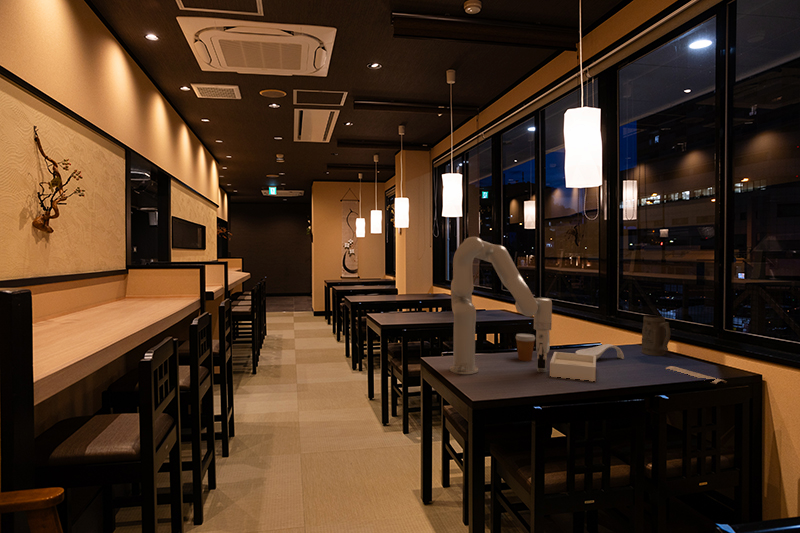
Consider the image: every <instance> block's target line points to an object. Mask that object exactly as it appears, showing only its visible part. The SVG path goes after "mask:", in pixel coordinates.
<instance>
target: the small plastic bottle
mask: <svg viewBox="0 0 800 533" xmlns="http://www.w3.org/2000/svg"><path fill="white" fill-rule="evenodd" d="M542 352H544V351H542ZM536 353H537V354H536V355H537V358H536V360H537V361H536V362H537V363H536V364H538V352H537V351H536ZM547 356H548V353H546V352H545V368H544V369H543V368H538V367H537V366H536V371H538V373H540V372H546V373H547V364H548V363H547V362H548V359H547V358H548V357H547Z"/></svg>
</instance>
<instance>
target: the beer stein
mask: <svg viewBox="0 0 800 533" xmlns="http://www.w3.org/2000/svg"><path fill="white" fill-rule="evenodd" d="M642 319H643V326H642V330H641V353H642V354H644V355H648V356H653V357H654V356H655V357H662V356H665V355H666V352H668V351H669V347H668V344H669V343H670V339H671V333H672V332H671V327H670V322H668V321H666V317H665V316H661V315H657V314H645V315H643V318H642Z"/></svg>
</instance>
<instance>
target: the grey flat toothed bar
mask: <svg viewBox="0 0 800 533" xmlns="http://www.w3.org/2000/svg"><path fill="white" fill-rule="evenodd" d="M667 369H670V370H669V371H671V370H673V371H672V372H674V371H677V372H681V373H684V374H688V375H690V376H689V377H691V376H694V377H693V378H695V377H697V378H696V379H698V378H706V379H715V380H714V381H712V382H711V384H715V385H716V384H717V383H719V382H723V383H727V382H728V381H727V380H724V379H720V378H717V379H716V377H714V376H713V377H712V376H709V375H706V374H702V373H699V372H695V371H691V370H690V369H689V370H688V369H684V368H680V367H677V366H675V365H674V366H673V365H671V366H670V365H669V366H666V367H665V370H667ZM677 372H676V373H677ZM681 373H680V374H681ZM684 374H683V375H684ZM688 375H687V376H688Z"/></svg>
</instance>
